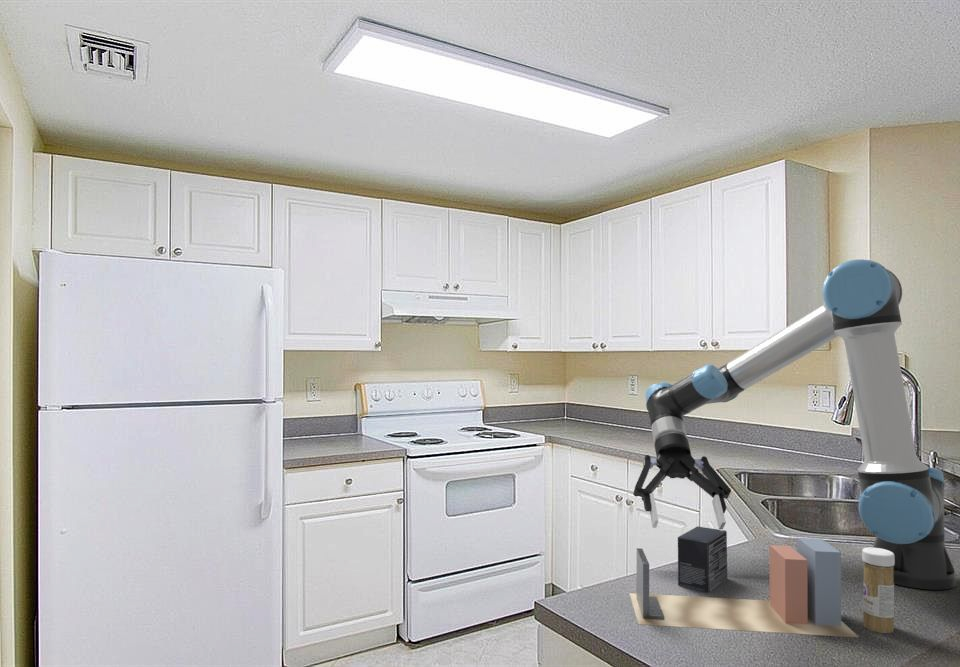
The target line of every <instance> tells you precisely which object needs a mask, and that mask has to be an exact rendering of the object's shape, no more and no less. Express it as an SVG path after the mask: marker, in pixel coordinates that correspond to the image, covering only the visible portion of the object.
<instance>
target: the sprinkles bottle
mask: <svg viewBox="0 0 960 667" xmlns="http://www.w3.org/2000/svg"><path fill="white" fill-rule="evenodd" d="M861 560H862V563H863V583H862V584H863V585H862V586H863V587H862V589H863V590H862V595H863V597H862V598H863V599H862V610H863V618H862V620H863V627H865V628H866V629H867V630H870V631H873V632H877V633H883V634H891V633H893V632H894V630H895V629H894V621H895V620H894V618H895V584H894V581H893V580H894V579H893V578H894V577H893V575H894V574H893V568H894V565H895V556H894V553H893V552H891V551H889V550H885V549H881V548H873V546H872V547H871V546H869V547H864V548H862V550H861Z"/></svg>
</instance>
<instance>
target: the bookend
mask: <svg viewBox="0 0 960 667" xmlns="http://www.w3.org/2000/svg"><path fill="white" fill-rule="evenodd" d="M649 594H650V563H649V561H648V558H647V556H646V553H645V551H644V549H643V548H636V599H637V602H638V605H639V608H640V611H641V614H642V617H643V618H644V619H661V620H664V614H663V612H662V609H661V607H660V605H659V602H658V600H657V597H652V596H649Z"/></svg>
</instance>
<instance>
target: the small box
mask: <svg viewBox="0 0 960 667" xmlns="http://www.w3.org/2000/svg"><path fill="white" fill-rule="evenodd" d="M727 534H728V532H727V530H724V529H719V528H718V529H717V528H711V527H705V526H704V527H703V526H697V525H696V527H694V528H692V529H690V530H688V531H687V532H685V533H683V534H681V535H679V536H677V585H678V586H679V587H683V588H687V589H691V590H695V591H700V592H703V593H711V592H712V591H714V590H715V589H716V588H718V587H719V586H721V585H722V584H723V583H725V582H726V581H727V580H728V578H729V577H728V576H729V575H728V540H727V539H728V538H727V536H728V535H727Z"/></svg>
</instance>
